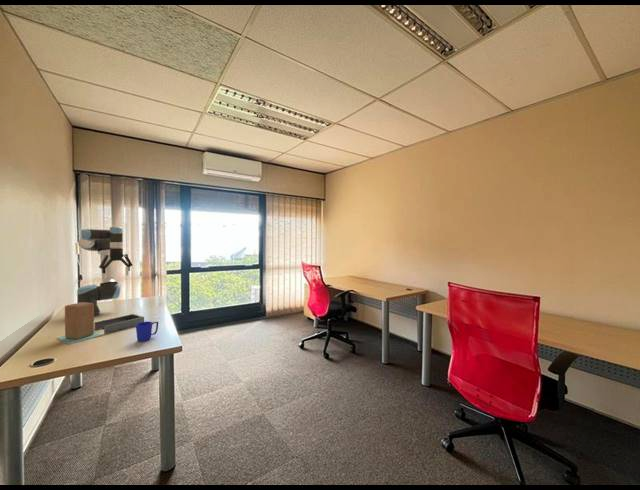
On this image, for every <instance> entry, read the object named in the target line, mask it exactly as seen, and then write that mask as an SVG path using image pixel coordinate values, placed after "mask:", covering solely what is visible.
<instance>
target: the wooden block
mask: <svg viewBox="0 0 640 490" xmlns="http://www.w3.org/2000/svg"><path fill="white" fill-rule="evenodd" d="M94 322H95V316H94V304H93V303H85V302H80V303H77V302H76V303H72V304H67V305H65V306H64V334H65V335H64V336H65V337H66V338H70V339H80V338H83V337H86V336H89V335H92V334H94V332H95V330H94Z"/></svg>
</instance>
